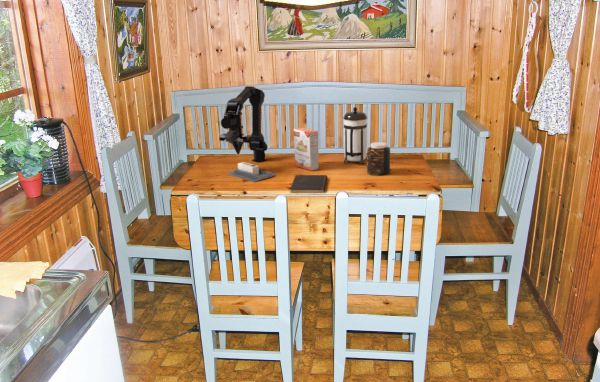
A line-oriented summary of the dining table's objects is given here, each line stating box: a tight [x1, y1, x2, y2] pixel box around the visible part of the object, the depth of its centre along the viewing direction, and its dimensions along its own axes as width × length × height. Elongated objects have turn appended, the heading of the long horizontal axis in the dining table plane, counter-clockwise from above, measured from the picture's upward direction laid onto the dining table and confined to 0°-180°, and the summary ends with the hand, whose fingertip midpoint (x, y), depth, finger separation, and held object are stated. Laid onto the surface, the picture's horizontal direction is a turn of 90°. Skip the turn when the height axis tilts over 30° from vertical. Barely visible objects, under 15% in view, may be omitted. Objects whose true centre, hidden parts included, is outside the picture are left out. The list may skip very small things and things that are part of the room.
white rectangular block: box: [237, 161, 260, 174], centre depth 291 cm, size 12×4×4 cm, turn 44°
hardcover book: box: [289, 174, 328, 194], centre depth 270 cm, size 16×23×2 cm
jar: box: [366, 141, 391, 176], centre depth 284 cm, size 12×12×15 cm
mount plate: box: [227, 168, 276, 183], centre depth 290 cm, size 21×14×3 cm, turn 44°
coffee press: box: [342, 107, 368, 165], centre depth 303 cm, size 17×16×30 cm
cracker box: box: [293, 126, 320, 172], centre depth 297 cm, size 14×6×21 cm, turn 37°
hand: (238, 154), depth 294 cm, fingers closed
